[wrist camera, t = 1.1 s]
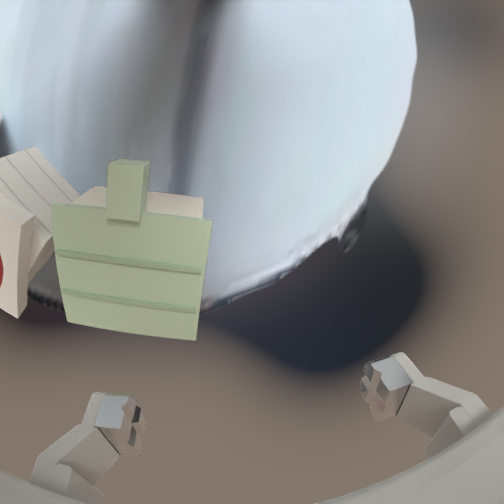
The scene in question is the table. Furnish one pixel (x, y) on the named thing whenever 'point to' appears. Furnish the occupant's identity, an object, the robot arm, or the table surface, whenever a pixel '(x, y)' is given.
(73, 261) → the lid
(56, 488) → the robot arm
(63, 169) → the table surface
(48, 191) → the pizza boxes
